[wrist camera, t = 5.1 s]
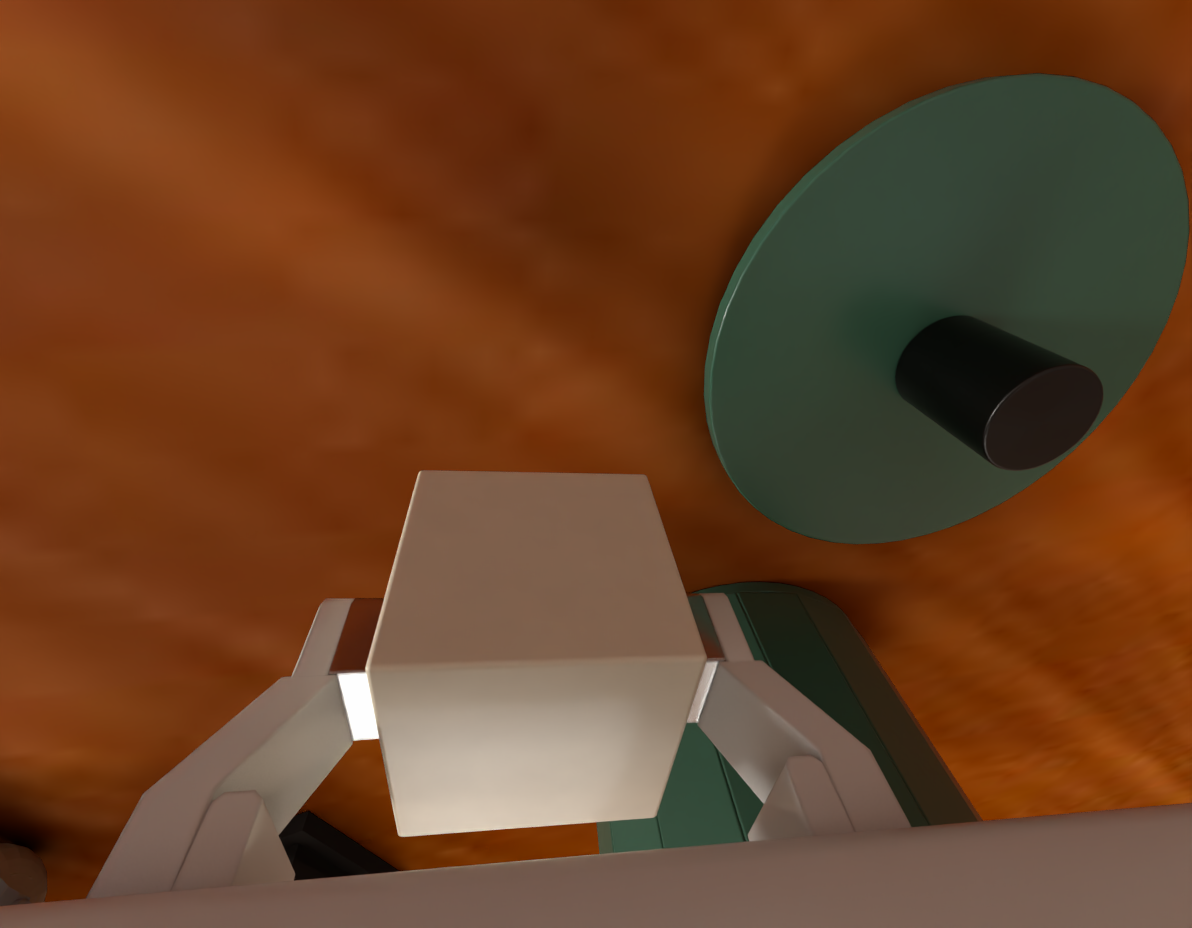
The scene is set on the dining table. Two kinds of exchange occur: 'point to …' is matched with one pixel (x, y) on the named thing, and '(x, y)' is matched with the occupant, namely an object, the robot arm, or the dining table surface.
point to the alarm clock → (21, 876)
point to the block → (531, 653)
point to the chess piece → (326, 851)
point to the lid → (946, 307)
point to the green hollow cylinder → (833, 683)
